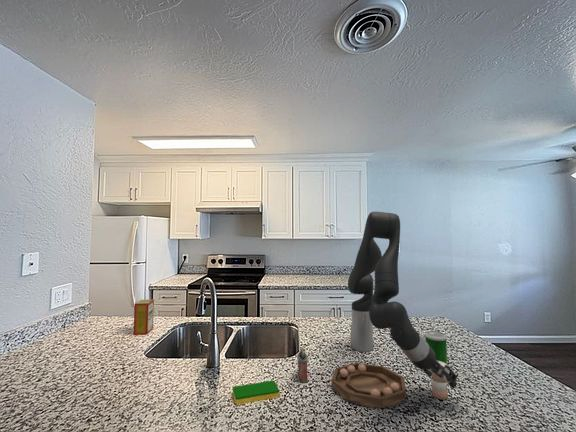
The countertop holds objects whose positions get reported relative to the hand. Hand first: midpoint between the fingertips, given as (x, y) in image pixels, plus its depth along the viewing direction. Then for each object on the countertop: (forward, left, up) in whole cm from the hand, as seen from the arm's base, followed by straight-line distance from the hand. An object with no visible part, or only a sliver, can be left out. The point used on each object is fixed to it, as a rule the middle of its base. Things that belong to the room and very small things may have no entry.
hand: (442, 379), depth 96 cm
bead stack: (0, -1, -5) cm, 5 cm away
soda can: (-16, +19, -5) cm, 25 cm away
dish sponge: (-27, -53, -5) cm, 60 cm away
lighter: (-30, -34, -5) cm, 46 cm away
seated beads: (-14, -18, -5) cm, 24 cm away
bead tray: (-14, -18, -5) cm, 24 cm away
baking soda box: (-111, -83, -5) cm, 139 cm away
